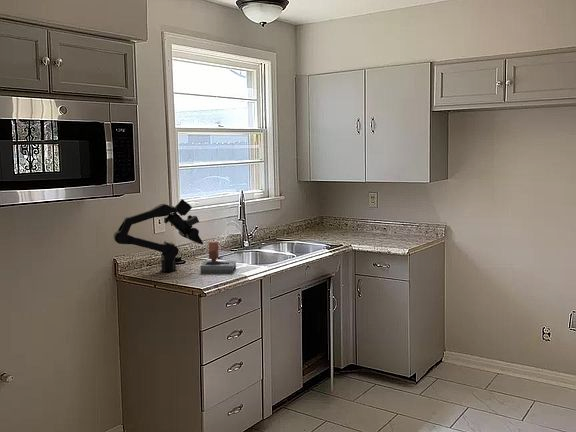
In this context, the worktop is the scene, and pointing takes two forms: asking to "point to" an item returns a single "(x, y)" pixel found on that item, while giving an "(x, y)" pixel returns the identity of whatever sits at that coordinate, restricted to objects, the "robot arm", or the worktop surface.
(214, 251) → the peg
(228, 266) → the keyhole plate
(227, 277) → the worktop surface
